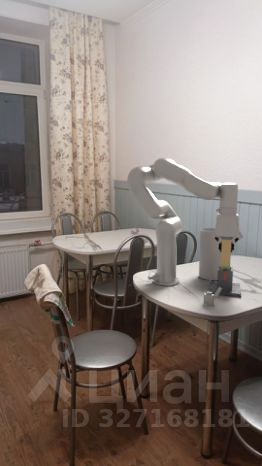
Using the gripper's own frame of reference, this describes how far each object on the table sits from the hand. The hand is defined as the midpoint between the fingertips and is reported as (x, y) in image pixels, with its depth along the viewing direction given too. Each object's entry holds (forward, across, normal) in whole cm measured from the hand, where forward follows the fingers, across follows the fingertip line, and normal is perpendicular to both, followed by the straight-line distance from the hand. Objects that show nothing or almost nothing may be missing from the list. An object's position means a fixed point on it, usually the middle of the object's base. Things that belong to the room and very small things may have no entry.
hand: (226, 251), depth 151 cm
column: (+10, 0, 0) cm, 10 cm away
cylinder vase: (+19, -7, +19) cm, 27 cm away
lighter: (+19, -5, -19) cm, 27 cm away
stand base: (+19, 0, 0) cm, 19 cm away
